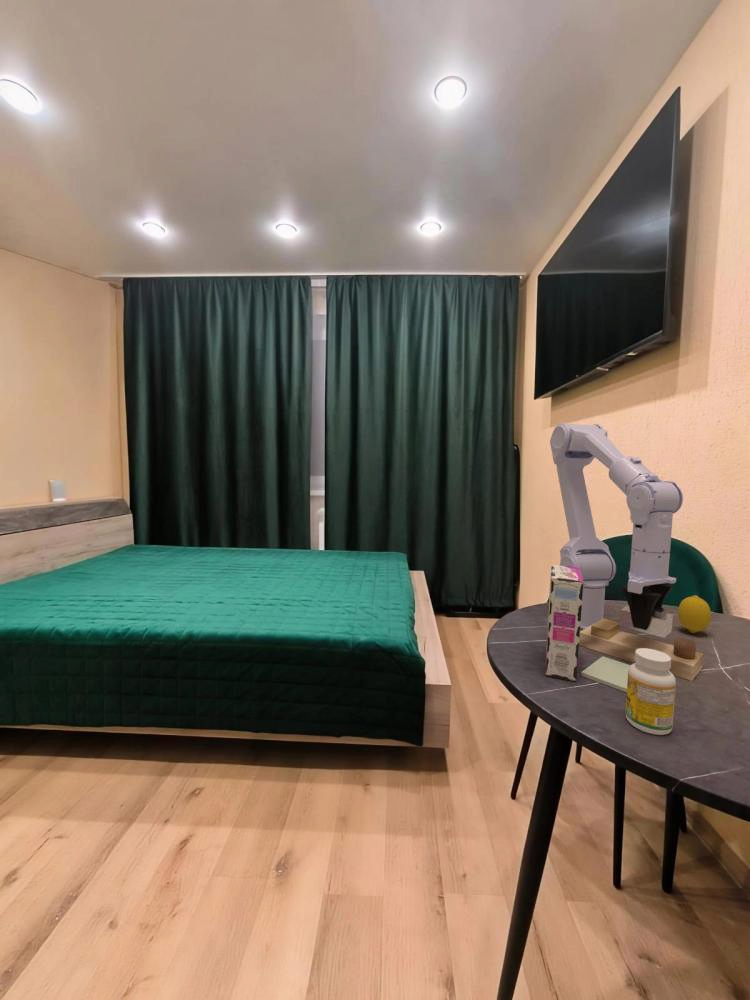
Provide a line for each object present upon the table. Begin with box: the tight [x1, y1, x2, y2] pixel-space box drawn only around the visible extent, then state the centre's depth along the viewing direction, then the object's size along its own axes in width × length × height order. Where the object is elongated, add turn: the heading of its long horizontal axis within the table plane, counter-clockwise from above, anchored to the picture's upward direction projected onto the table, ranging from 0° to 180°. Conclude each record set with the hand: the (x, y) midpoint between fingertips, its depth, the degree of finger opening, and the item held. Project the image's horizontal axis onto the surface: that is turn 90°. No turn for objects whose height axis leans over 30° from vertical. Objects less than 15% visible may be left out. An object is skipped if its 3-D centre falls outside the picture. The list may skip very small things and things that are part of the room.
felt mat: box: [580, 656, 632, 693], centre depth 70 cm, size 9×9×1 cm
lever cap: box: [618, 604, 674, 639], centre depth 77 cm, size 7×4×4 cm, turn 42°
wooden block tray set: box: [579, 617, 705, 682], centre depth 78 cm, size 18×7×5 cm, turn 42°
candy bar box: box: [544, 564, 584, 682], centre depth 73 cm, size 11×5×16 cm, turn 158°
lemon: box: [677, 595, 712, 634], centre depth 89 cm, size 6×6×8 cm
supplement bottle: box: [625, 648, 677, 736], centre depth 57 cm, size 5×5×10 cm
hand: (645, 624), depth 77 cm, fingers closed on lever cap, 4 cm apart
